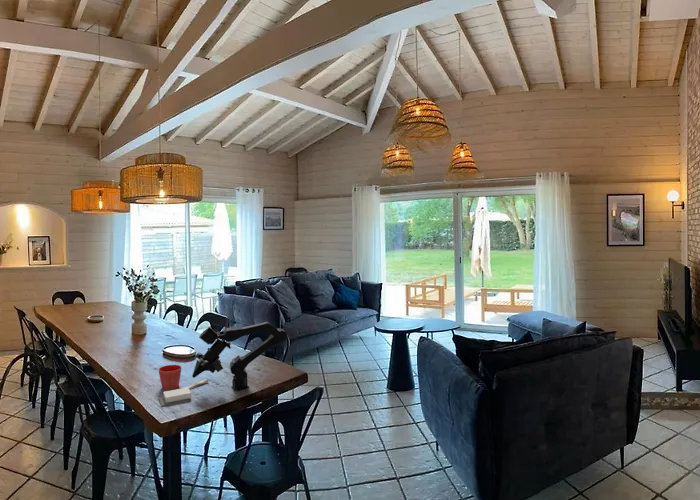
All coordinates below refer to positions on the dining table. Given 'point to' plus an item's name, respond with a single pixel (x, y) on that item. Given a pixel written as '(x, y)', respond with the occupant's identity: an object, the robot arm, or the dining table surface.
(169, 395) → the tile
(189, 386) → the spatula
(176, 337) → the dining table surface
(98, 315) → the dining table surface
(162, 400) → the mat
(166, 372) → the flower pot
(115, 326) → the dining table surface
